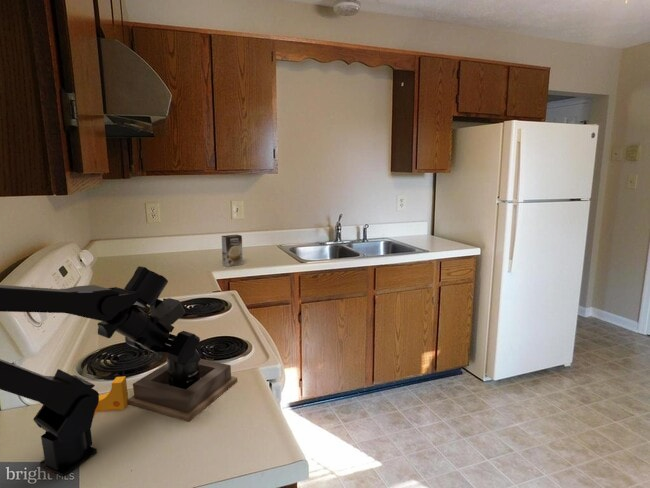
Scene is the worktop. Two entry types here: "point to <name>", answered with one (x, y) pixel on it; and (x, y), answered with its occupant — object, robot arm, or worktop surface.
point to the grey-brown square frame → (182, 391)
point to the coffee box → (232, 250)
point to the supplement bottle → (182, 374)
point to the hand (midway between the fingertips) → (185, 355)
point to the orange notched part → (114, 396)
